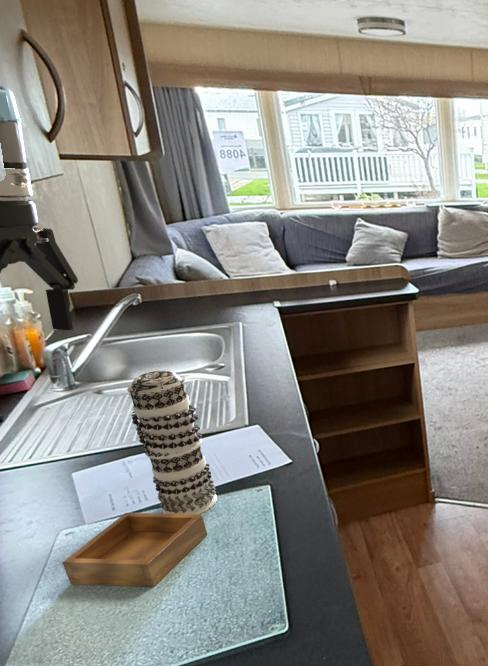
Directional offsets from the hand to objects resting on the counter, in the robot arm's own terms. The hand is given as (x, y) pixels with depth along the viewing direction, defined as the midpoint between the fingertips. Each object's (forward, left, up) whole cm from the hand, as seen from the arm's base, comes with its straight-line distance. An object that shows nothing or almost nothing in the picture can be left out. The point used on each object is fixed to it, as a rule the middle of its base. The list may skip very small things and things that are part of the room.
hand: (28, 339), depth 101 cm
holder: (+17, -11, -33) cm, 38 cm away
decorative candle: (+15, +4, -33) cm, 36 cm away
